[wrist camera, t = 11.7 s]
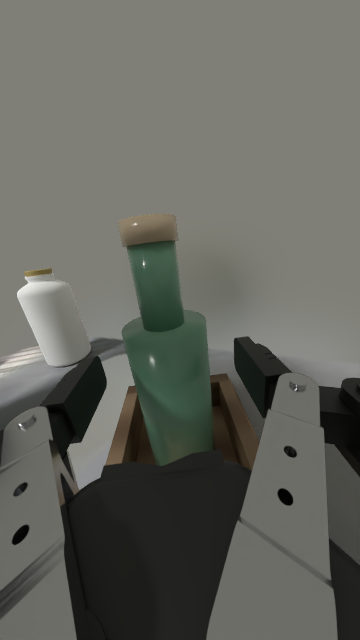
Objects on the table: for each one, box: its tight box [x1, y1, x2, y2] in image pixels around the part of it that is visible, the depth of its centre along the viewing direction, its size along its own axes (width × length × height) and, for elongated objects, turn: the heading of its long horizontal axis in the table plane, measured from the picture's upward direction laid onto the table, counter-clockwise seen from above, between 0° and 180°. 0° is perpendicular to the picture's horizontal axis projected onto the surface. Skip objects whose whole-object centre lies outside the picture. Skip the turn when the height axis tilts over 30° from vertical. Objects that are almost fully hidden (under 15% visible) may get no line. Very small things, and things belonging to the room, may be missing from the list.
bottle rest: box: [106, 374, 260, 470], centre depth 17 cm, size 18×14×4 cm
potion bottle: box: [17, 268, 91, 367], centre depth 35 cm, size 8×8×18 cm
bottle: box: [118, 214, 215, 466], centre depth 14 cm, size 6×6×19 cm
